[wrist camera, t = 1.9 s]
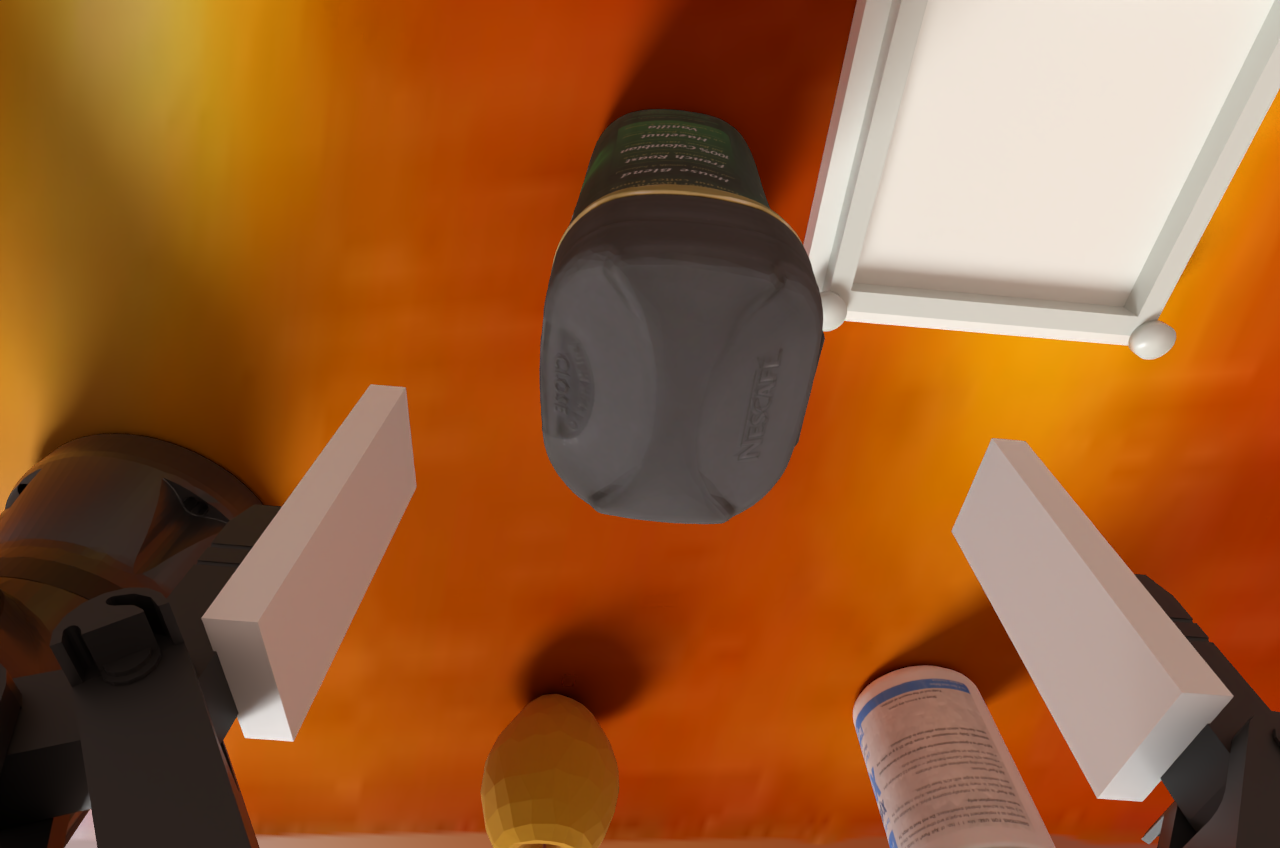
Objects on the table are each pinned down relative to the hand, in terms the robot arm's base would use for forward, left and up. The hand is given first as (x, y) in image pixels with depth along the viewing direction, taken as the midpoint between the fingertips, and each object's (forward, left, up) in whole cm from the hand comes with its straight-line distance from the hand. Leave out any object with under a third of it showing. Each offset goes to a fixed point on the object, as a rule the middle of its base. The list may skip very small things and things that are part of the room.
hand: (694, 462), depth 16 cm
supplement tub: (+23, -35, -21) cm, 47 cm away
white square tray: (+16, +5, -21) cm, 26 cm away
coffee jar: (0, 0, -21) cm, 21 cm away
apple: (-4, -39, -21) cm, 45 cm away
